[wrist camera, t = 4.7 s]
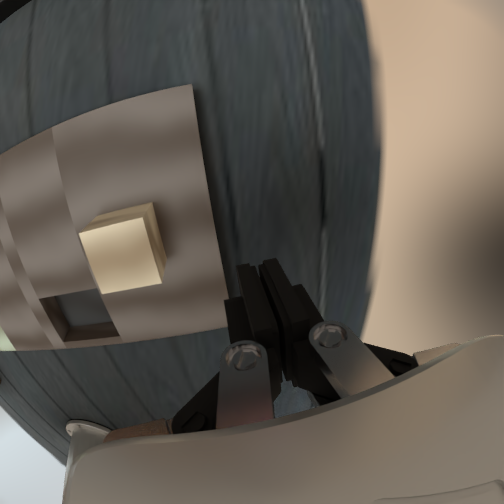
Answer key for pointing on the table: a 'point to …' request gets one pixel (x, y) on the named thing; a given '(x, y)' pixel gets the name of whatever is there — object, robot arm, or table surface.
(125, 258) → the birch block
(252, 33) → the table surface
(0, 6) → the food platter
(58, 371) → the table surface
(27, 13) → the table surface
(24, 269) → the board
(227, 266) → the table surface
